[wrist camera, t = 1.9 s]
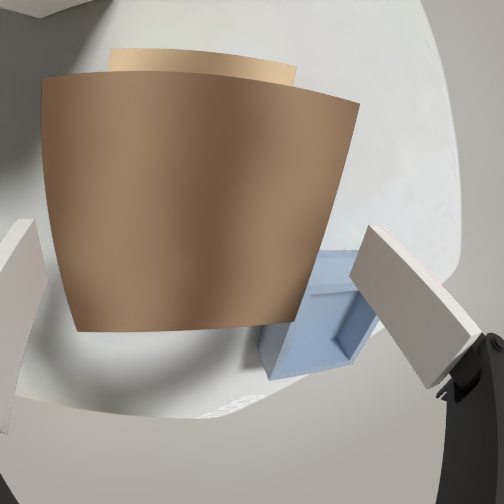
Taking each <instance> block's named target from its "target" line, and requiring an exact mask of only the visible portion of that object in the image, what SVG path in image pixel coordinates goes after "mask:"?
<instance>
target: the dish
mask: <svg viewBox="0 0 504 504" xmlns="http://www.w3.org/2000/svg"><path fill="white" fill-rule="evenodd" d="M358 252H359V251H319V252H318V255H317V258H316V261H315V264H314V267H313V270H312V273H311V276H310V279H309V282H308V285H307V288H306V290H305V293H304V296H303V299H302V302H301V305H300V307H299V310H298V313H297V316H296V318H295V321H294V322H288V323H278V324H268V325H263V327H262V330H261V334H260V337H259V341H258V345H257V349H258V352H259V354H260V357H261V360H262V363H263V366H264V368H265V371H266V374H267V377H268V379H269V381H270V380H276V379H282V378H288V377H294V376H299V375H305V374H310V373H315V372H319V371H324V370H329V369H333V368H338V367H342V366H346V365H350V364H353V362H354V361H355V359H356V358H357V356H358V355H359V353H360V351H361V350H362V348H363V346H364V345H365V343H366V342H367V340H368V338H369V337H370V335H371V333H372V332H373V330H374V328H375V327H376V325H377V323H378V321H379V320H380V319H379V318H378V316H377V315H376V313H375V312H374V310H373V309H372V308H371V306H370V305H369V303H368V302H367V301H366V299H365V298H364V297H363V295H362V294H361V292H360V291H359V290H358V288H357V287H356V286H355V284H354V283H353V282H352V280H351V279H350V278H349V274H350V272H351V269H352V267H353V264H354V262H355V259H356V257H357V254H358Z"/></svg>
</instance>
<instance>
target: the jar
mask: <svg viewBox="0 0 504 504" xmlns="http://www.w3.org/2000/svg"><path fill="white" fill-rule="evenodd" d="M89 1H93V0H0V8H3V9H7V10H11V11H15V12H19V13H22V14H26V15H29V16H33V17H36V18H43V17H46V16H48V15H51V14H53V13H56V12H59V11H62V10H64V9H67V8H70V7H73V6H76V5H80V4H83V3H86V2H89Z"/></svg>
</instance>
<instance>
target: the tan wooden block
mask: <svg viewBox="0 0 504 504" xmlns="http://www.w3.org/2000/svg"><path fill="white" fill-rule="evenodd" d="M296 68H297V67H296V66H292V65H287V64H283V63H278V62H273V61H268V60H262V59H257V58H251V57H244V56H238V55H231V54H223V53H214V52H204V51H193V50H178V49H111V52H110V60H109V68H108V72H112V71H170V72H189V73H202V74H213V75H222V76H231V77H238V78H246V79H252V80H259V81H265V82H271V83H276V84H282V85H287V86H292V87H293V83H294V78H295V73H296Z"/></svg>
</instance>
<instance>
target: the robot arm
mask: <svg viewBox="0 0 504 504" xmlns="http://www.w3.org/2000/svg"><path fill="white" fill-rule="evenodd" d="M349 278H350V279H351V280H352V282H353V283H354V284H355V286H356V287H357V288H358V290H359V291H360V292H361V294H362V295H363V297H364V298H365V299H366V301H367V302H368V303H369V305H370V306H371V308H372V309H373V310H374V312H375V313H376V315H377V316H378V318H379V319H380V320H381V322H382V323H383V325H384V326H385V328H386V329H387V330H388V332H389V333H390V335H391V336H392V337H393V339H394V341H395V342H396V343H397V345H398V346H399V348H400V349H401V351H402V352H403V354H404V355H405V357H406V358H407V360H408V361H409V363H410V364H411V366H412V367H413V369H414V371H415V372H416V374H417V375H418V377H419V378H420V380H421V381H422V383H423V385H424V386H425V388H426V389H429V388H431V387H433V386H436V385H438V384H440V382H441V381H442V380H443V379H444V378H445V377H446V376H447V375H448V374H450V375H451V377H452V378H451V379H450V380H449V381H448V382H447V383H446V385H444V386H443V388H442V389H441V390H440V391H439V392H438V393H437V395H436V398H439V397H440V396H441V395H442V394H443V393H444V392H447V393H446V394H445V395H444V396H443V397H442V398H441V399H442V400H444V401H447V413H446V430H445V443H444V453H443V462H442V469H441V476H440V483H439V489H438V494H437V500H436V504H504V340H503V339H502V338H501V337H500V336H498V335H496V334H494V333H488V334H487V335H486V336H485V335H484V334H483V333H482V331H481V330H480V329H479V327H478V326H477V325H476V324H475V323H474V321H473V320H472V319H471V318H470V317H469V316H468V314H467V313H466V312H465V311H464V310H463V309H462V308H461V306H460V305H459V304H458V303H457V302H456V301H455V300H454V298H453V297H452V296H451V295H450V294H449V293H448V292H447V291H446V290H445V289H444V288H443V287H442V285H441V284H440V283H439V282H438V281H437V280H436V279H435V278H434V277H433V276H432V275H431V274H430V273H429V272H428V271H427V270H426V269H425V268H424V267H423V266H422V265H421V264H420V263H419V261H418V260H417V259H416V258H415V257H414V256H412V255H411V254H410V253H409V252H408V251H407V250H406V249H405V248H404V247H403V246H402V245H401V244H400V243H399V242H398V241H397V240H396V239H395V238H394V237H393V236H392V235H391V234H390V233H389V232H388V231H386V230H385V229H384V228H383V227H382V226H375V225H368V228H367V231H366V233H365V236H364V239H363V241H362V244H361V247H360V249H359V252H358V254H357V257H356V259H355V262H354V264H353V267H352V269H351V272H350V274H349ZM48 282H49V279H48V275H47V271H46V268H45V264H44V260H43V255H42V251H41V247H40V242H39V238H38V233H37V228H36V222H35V219H18V220H17V221H16V222H15V224H14V225H13V226H12V228H11V229H10V230H9V232H8V233H7V235H6V236H5V237H4V239H3V240H2V242H1V243H0V433H3V434H8V427H9V421H10V415H11V409H12V403H13V398H14V393H15V388H16V384H17V379H18V375H19V371H20V367H21V363H22V359H23V356H24V352H25V349H26V345H27V342H28V338H29V335H30V332H31V329H32V326H33V323H34V320H35V317H36V314H37V311H38V308H39V305H40V303H41V300H42V297H43V294H44V292H45V289H46V287H47V284H48ZM0 504H19V503H18V501H17V500H16V498H15V497H14V495H13V494H12V492H11V491H10V489H9V487H8V486H7V484H6V482H5V481H4V479H3V477H2V475H1V474H0Z"/></svg>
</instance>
